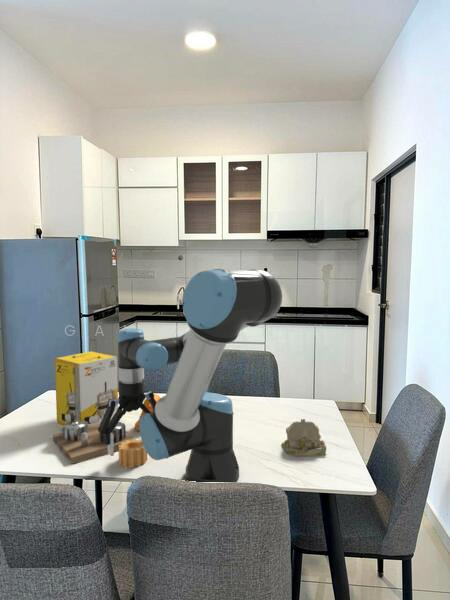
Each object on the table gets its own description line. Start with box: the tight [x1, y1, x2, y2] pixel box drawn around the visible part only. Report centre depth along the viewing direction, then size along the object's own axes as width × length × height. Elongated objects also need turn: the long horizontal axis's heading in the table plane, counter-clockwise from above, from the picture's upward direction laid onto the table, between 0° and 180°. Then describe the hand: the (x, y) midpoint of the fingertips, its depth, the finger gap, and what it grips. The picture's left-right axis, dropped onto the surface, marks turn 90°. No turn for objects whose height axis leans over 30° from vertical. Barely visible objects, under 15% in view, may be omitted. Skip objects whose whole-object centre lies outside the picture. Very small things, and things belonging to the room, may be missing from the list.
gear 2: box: [99, 421, 127, 443], centre depth 134 cm, size 8×8×5 cm
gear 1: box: [61, 413, 89, 441], centre depth 135 cm, size 8×8×7 cm
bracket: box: [134, 393, 161, 431], centre depth 147 cm, size 11×7×12 cm, turn 82°
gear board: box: [52, 421, 136, 465], centre depth 135 cm, size 21×21×6 cm
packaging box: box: [54, 350, 119, 426], centre depth 154 cm, size 16×16×25 cm
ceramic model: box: [281, 418, 327, 457], centre depth 129 cm, size 14×11×10 cm
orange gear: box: [118, 438, 148, 469], centre depth 122 cm, size 8×8×5 cm
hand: (132, 448), depth 122 cm, fingers open, 13 cm apart
